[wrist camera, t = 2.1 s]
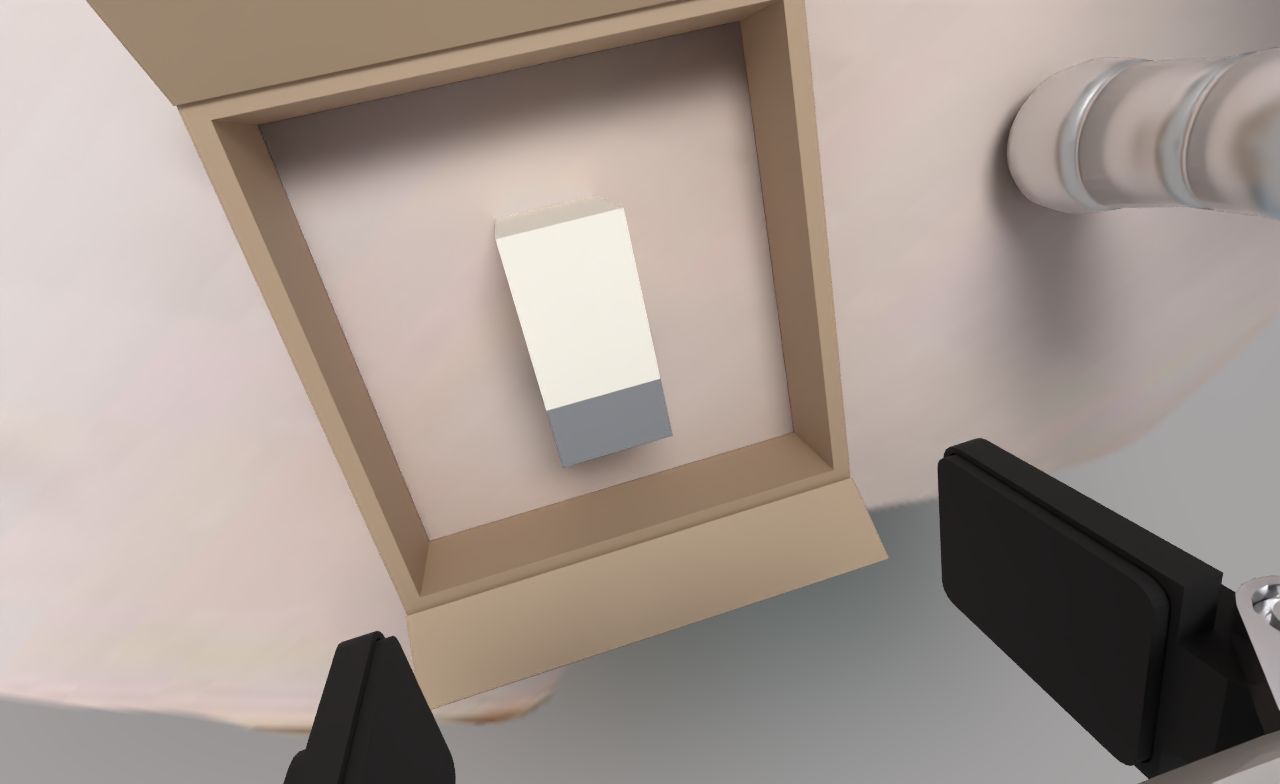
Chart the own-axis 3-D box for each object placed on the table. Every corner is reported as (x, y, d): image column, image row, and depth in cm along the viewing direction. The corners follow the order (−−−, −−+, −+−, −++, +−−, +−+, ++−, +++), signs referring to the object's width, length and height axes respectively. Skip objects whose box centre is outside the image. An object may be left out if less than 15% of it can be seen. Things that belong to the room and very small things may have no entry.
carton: (744, -90, 26) (835, -178, 19) (814, 487, 37) (889, 565, 30) (189, 18, 23) (61, -37, 16) (438, 604, 34) (424, 719, 27)
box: (594, 195, 29) (623, 207, 22) (636, 378, 32) (672, 435, 26) (495, 219, 28) (495, 239, 22) (548, 403, 31) (563, 467, 25)
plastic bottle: (988, 223, 33) (1600, 313, 15) (985, 81, 30) (1725, -23, 12) (1097, 191, 34) (1812, 238, 15) (1104, 49, 31) (1974, -95, 13)
